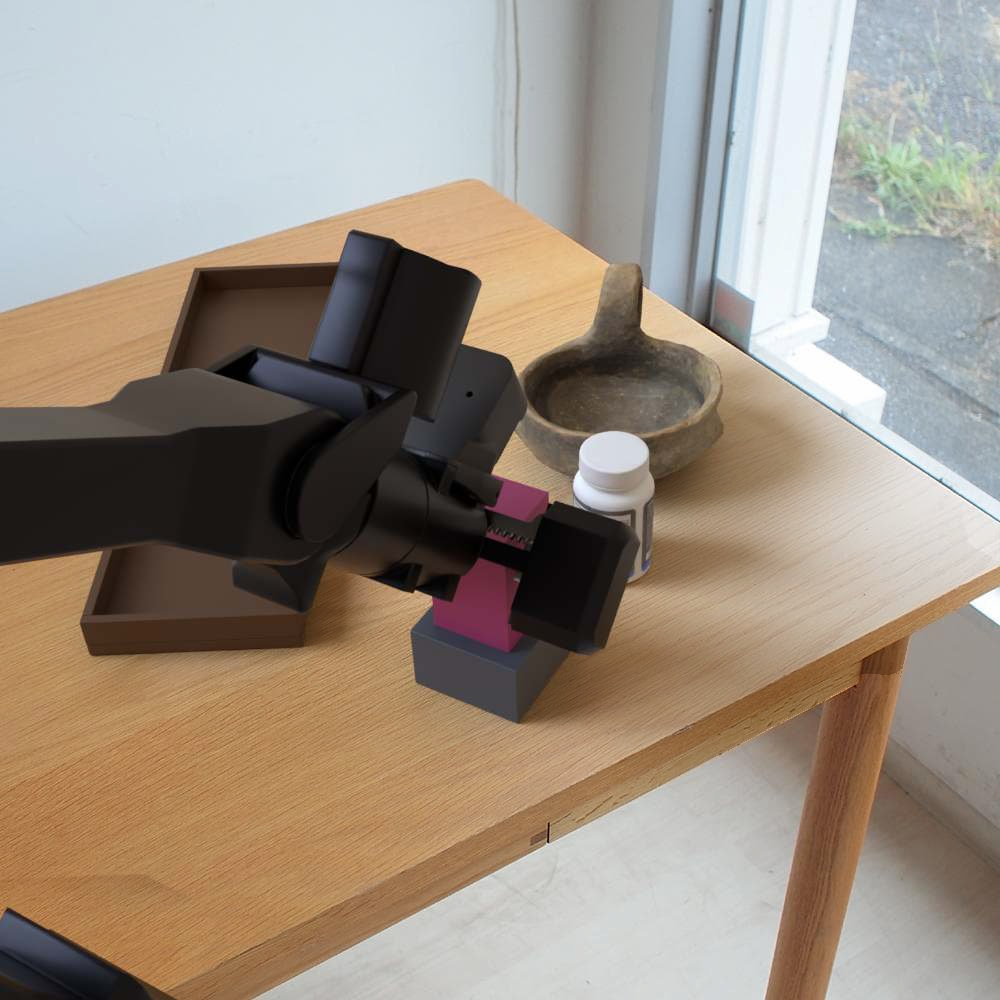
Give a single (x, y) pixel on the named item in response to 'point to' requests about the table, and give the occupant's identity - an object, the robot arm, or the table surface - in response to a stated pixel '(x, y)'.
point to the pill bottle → (618, 487)
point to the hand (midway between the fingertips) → (503, 554)
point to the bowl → (621, 388)
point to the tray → (188, 574)
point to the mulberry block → (491, 579)
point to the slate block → (483, 668)
